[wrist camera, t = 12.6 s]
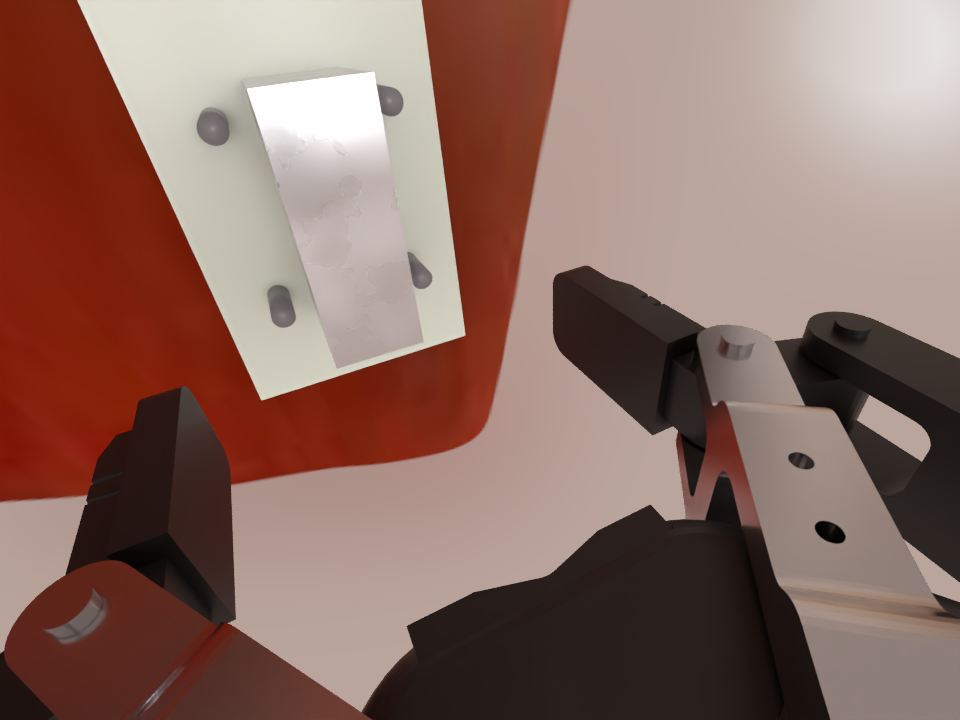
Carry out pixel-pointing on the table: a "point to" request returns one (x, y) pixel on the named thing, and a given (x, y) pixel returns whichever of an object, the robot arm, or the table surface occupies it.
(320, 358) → the peg board
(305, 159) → the plate
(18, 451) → the table surface
